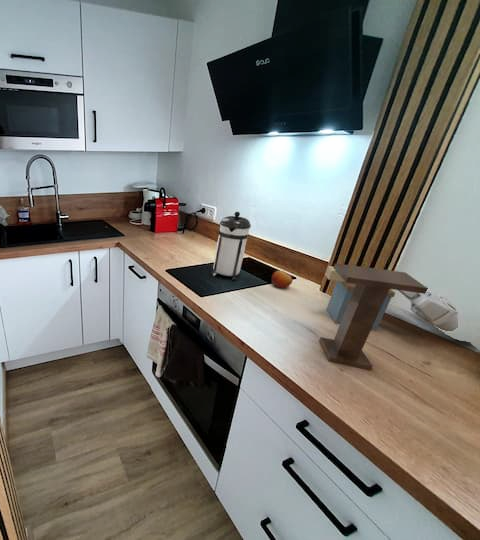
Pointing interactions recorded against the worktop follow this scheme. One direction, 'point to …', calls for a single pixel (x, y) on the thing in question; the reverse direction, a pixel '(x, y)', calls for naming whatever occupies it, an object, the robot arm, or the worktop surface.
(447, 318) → the robot arm
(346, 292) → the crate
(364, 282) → the wooden pedestal stand
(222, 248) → the coffee press
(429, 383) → the worktop surface
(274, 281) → the fruit
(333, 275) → the egg box
